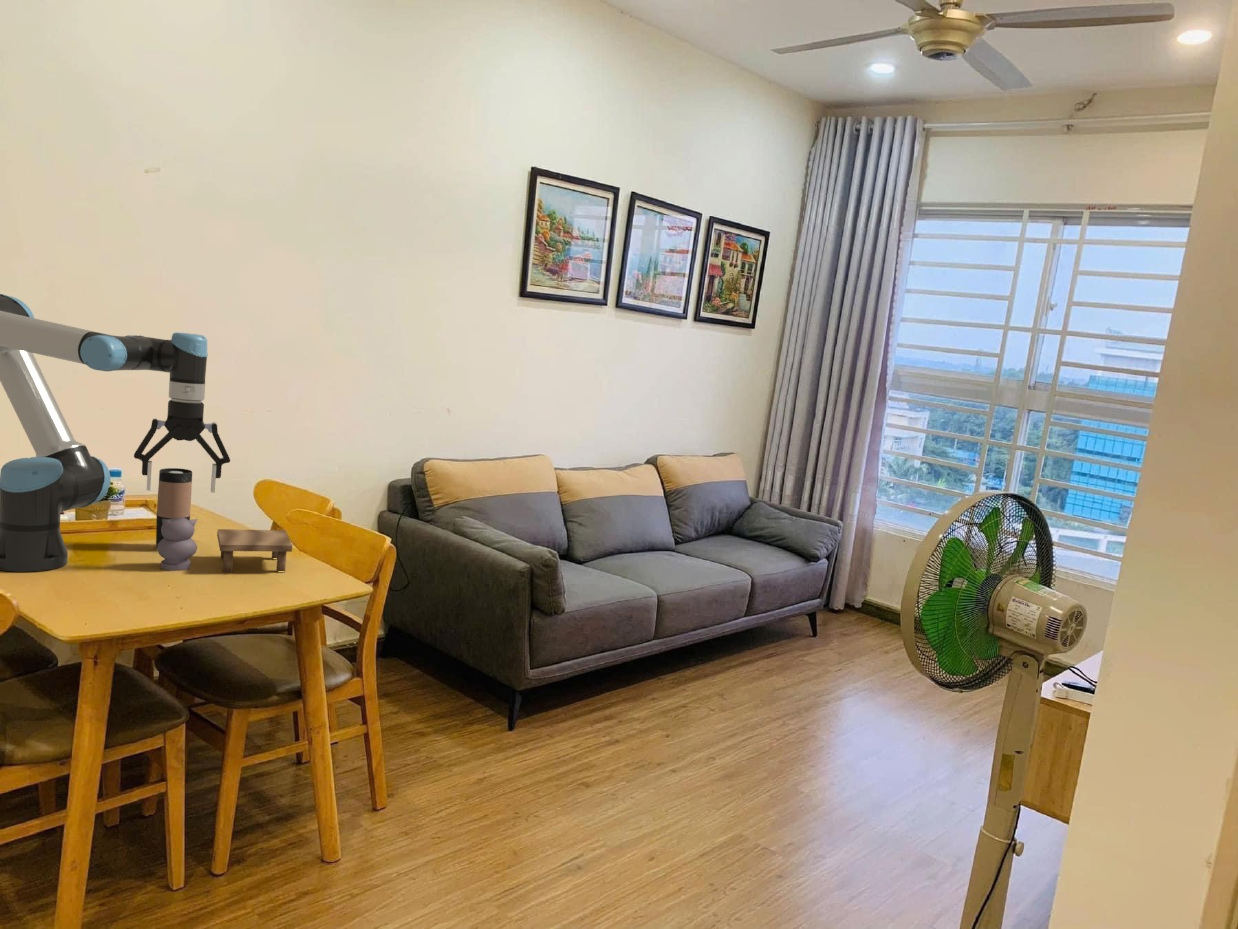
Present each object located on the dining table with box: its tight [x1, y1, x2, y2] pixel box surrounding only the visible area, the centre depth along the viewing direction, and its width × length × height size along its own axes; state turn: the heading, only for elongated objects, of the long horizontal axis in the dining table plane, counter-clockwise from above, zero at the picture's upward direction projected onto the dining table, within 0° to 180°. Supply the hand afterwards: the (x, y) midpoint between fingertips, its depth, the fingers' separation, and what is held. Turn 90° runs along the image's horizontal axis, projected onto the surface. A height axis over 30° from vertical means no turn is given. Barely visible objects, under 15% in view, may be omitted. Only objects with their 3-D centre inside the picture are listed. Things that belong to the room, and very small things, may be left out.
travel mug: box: [155, 467, 193, 550], centre depth 230 cm, size 8×8×20 cm
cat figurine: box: [156, 517, 198, 572], centre depth 215 cm, size 8×8×12 cm
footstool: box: [216, 528, 293, 574], centre depth 225 cm, size 16×16×7 cm
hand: (181, 490), depth 213 cm, fingers open, 13 cm apart
